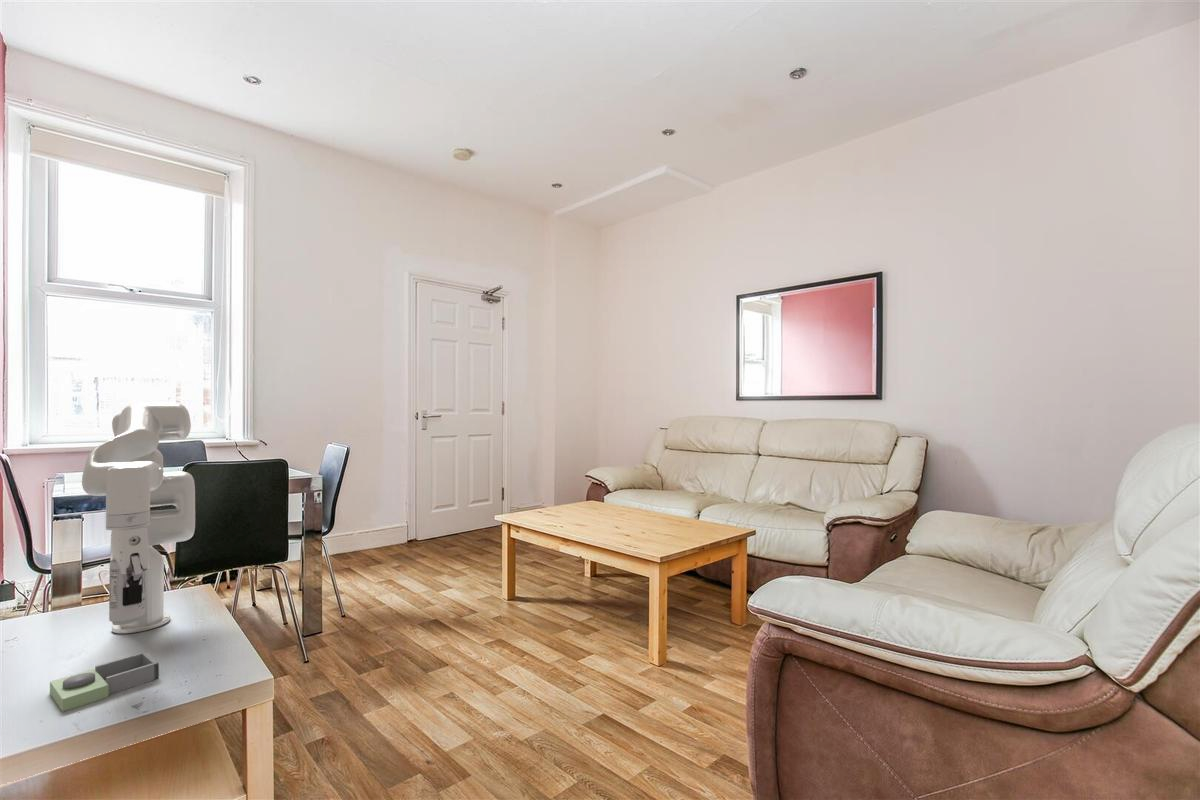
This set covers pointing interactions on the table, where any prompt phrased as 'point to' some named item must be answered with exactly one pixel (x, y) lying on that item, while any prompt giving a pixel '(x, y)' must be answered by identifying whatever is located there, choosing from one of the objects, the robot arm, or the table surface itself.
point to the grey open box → (103, 680)
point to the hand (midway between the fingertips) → (127, 600)
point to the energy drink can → (116, 608)
